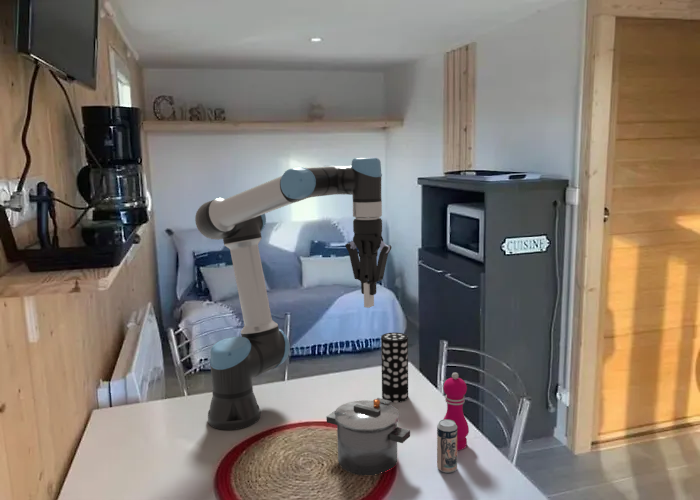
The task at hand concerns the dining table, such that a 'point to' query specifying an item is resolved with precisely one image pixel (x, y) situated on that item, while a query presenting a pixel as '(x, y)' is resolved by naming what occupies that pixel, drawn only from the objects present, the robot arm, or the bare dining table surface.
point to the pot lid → (367, 415)
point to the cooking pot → (368, 448)
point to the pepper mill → (456, 407)
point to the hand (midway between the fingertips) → (369, 306)
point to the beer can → (447, 446)
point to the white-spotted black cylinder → (394, 367)
